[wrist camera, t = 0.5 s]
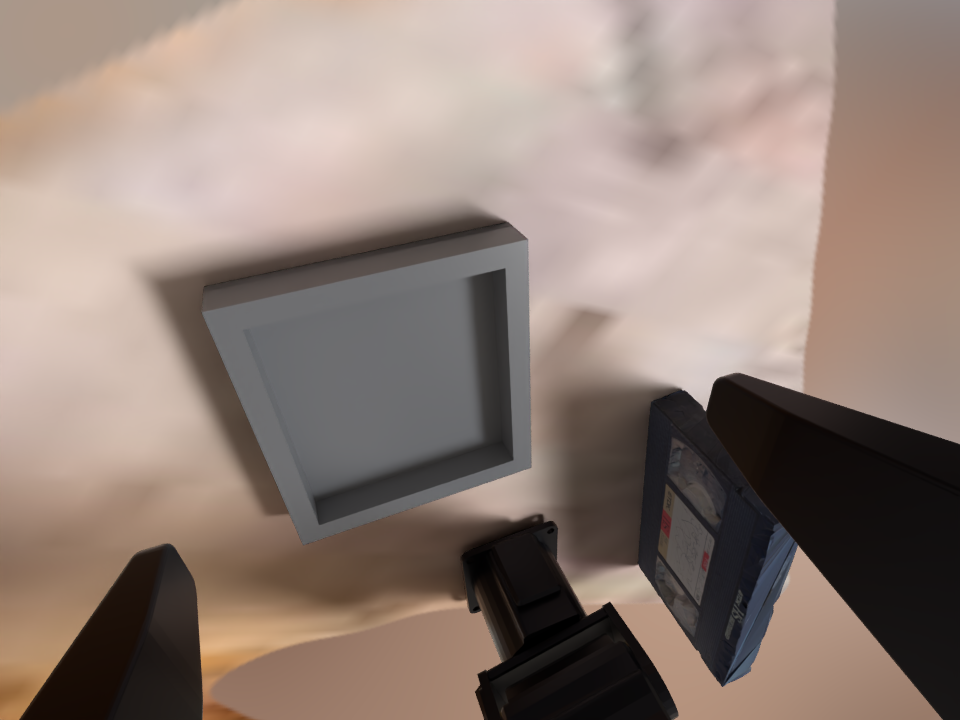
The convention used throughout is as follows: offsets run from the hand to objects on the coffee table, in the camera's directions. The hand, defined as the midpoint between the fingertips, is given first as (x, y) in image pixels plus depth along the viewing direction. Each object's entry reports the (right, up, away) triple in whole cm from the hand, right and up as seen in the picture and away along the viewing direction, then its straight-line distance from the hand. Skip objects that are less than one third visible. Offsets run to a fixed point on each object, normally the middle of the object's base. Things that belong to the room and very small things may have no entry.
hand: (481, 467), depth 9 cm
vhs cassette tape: (+13, -7, +30) cm, 33 cm away
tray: (-4, +1, +16) cm, 17 cm away
